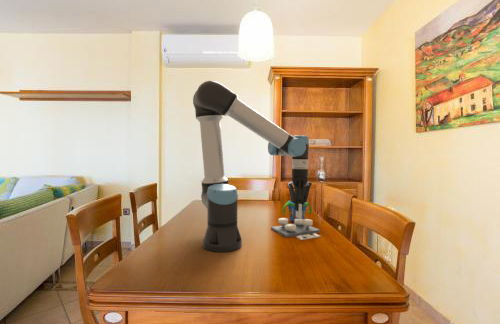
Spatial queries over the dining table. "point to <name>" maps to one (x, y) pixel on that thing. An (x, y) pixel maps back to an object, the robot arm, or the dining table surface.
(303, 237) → the pattern tile
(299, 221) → the button
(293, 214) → the snack cup
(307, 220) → the button
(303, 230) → the button board
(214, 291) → the dining table surface
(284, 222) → the button
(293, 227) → the button
